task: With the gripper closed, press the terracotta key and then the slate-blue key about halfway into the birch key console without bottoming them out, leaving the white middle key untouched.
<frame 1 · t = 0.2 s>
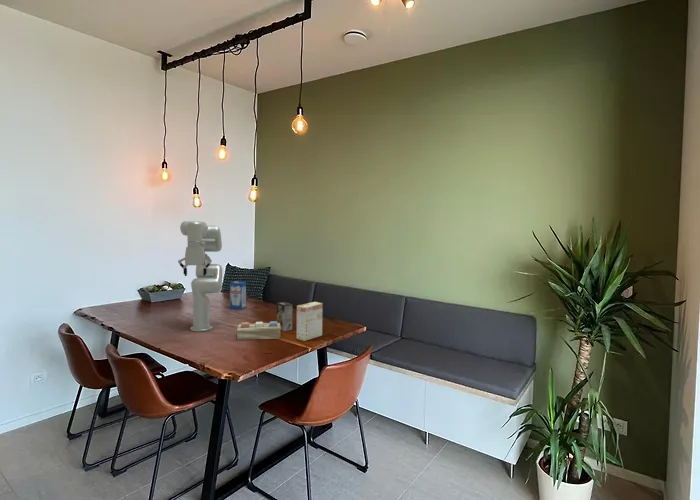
hand: (195, 275, 222), 36 cm above the table, tool pointing down, fingers open, 9 cm apart
white key: (259, 326, 235), point 6 cm above the table, slide at 0.0 cm
terracotta key: (245, 326, 233), point 6 cm above the table, slide at 0.0 cm
slate-blue key: (273, 325, 236), point 6 cm above the table, slide at 0.0 cm
key console: (259, 336, 235), on the table
coffeecake box: (309, 337, 235), on the table
coffee box: (284, 329, 252), on the table
milk carton: (238, 309, 304), on the table
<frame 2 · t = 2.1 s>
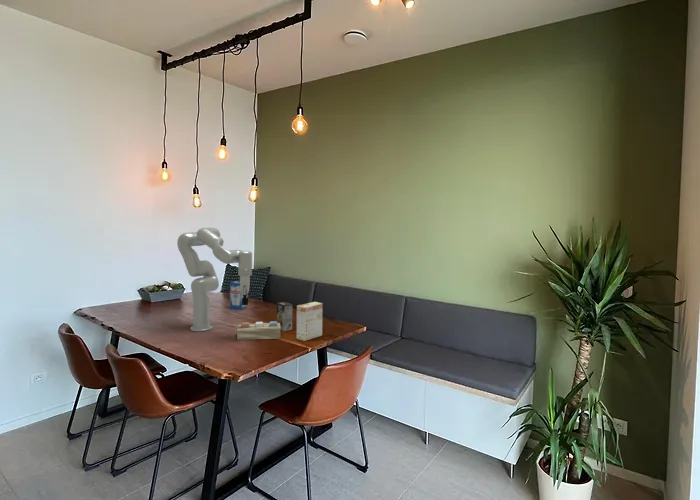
hand: (245, 303, 232), 19 cm above the table, tool pointing down, fingers open, 3 cm apart
nothing on the table moved.
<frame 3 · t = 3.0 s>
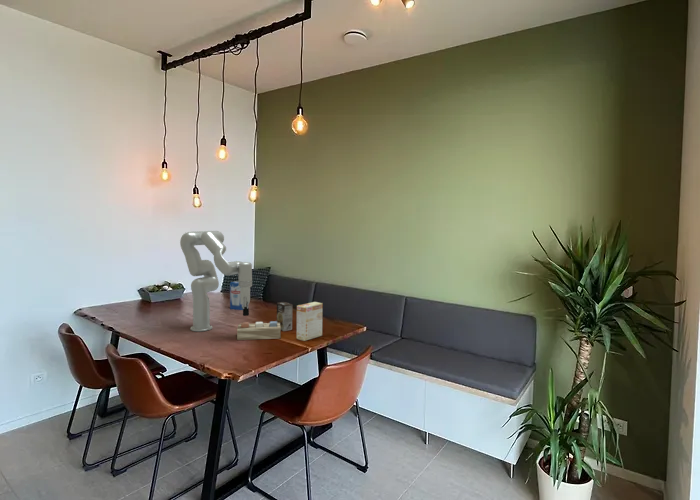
hand: (246, 315, 232), 13 cm above the table, tool pointing down, fingers closed
nothing on the table moved.
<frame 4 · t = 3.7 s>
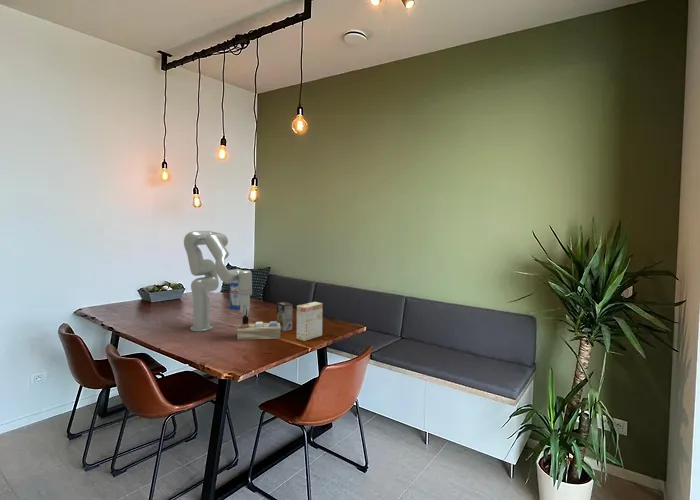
hand: (245, 323, 233), 8 cm above the table, tool pointing down, fingers closed
terracotta key: (245, 326, 233), point 6 cm above the table, slide at 0.2 cm, touching gripper
everything else where it was.
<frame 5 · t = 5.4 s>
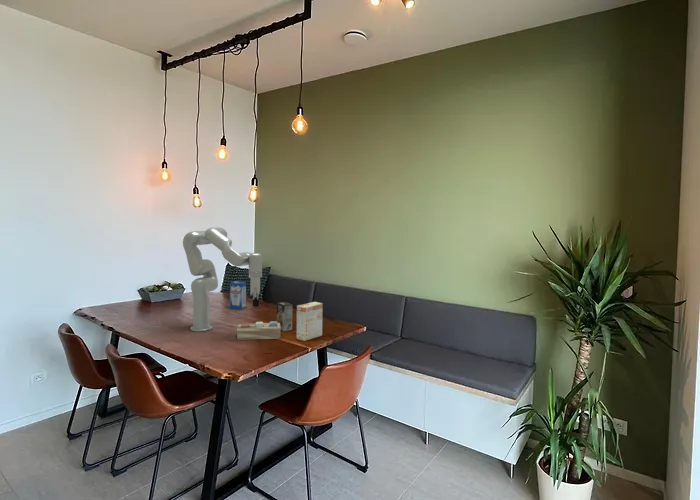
hand: (255, 306, 233), 18 cm above the table, tool pointing down, fingers closed
terracotta key: (245, 328, 233), point 5 cm above the table, slide at 0.9 cm
everything else where it was.
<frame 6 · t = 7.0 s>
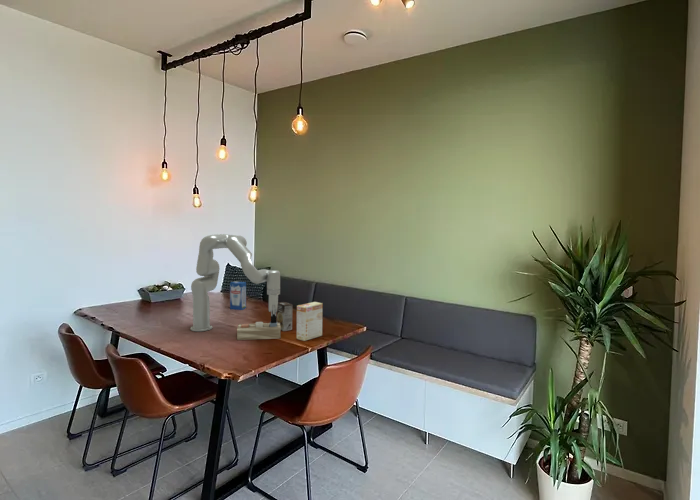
hand: (273, 322, 236), 8 cm above the table, tool pointing down, fingers closed
slate-blue key: (273, 325, 236), point 6 cm above the table, slide at 0.2 cm, touching gripper
everything else where it was.
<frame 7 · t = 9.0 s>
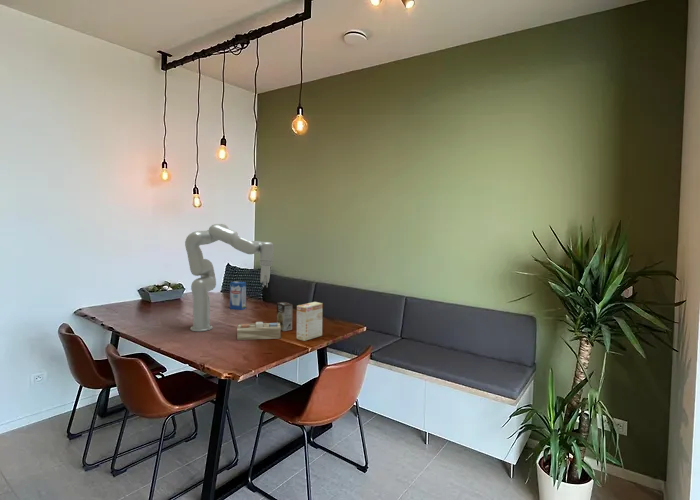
hand: (264, 293, 239), 24 cm above the table, tool pointing down, fingers closed
slate-blue key: (273, 327, 236), point 5 cm above the table, slide at 0.9 cm
everything else where it was.
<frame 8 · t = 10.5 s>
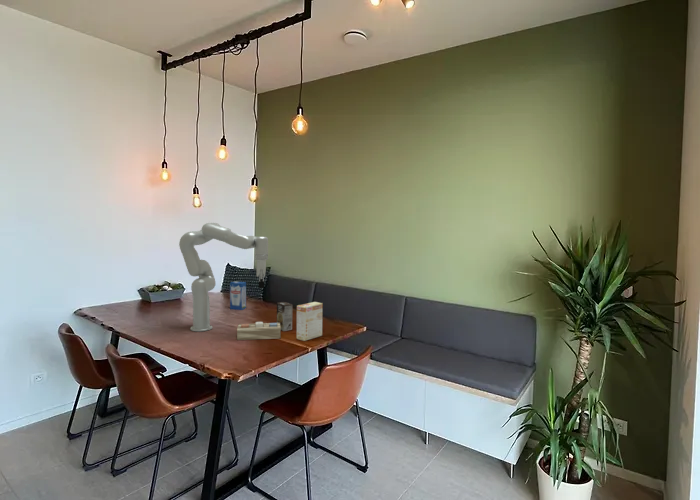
hand: (261, 287, 241), 27 cm above the table, tool pointing down, fingers closed
nothing on the table moved.
at the end: terracotta key slide at 0.9 cm; slate-blue key slide at 0.9 cm; white key slide at 0.0 cm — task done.
